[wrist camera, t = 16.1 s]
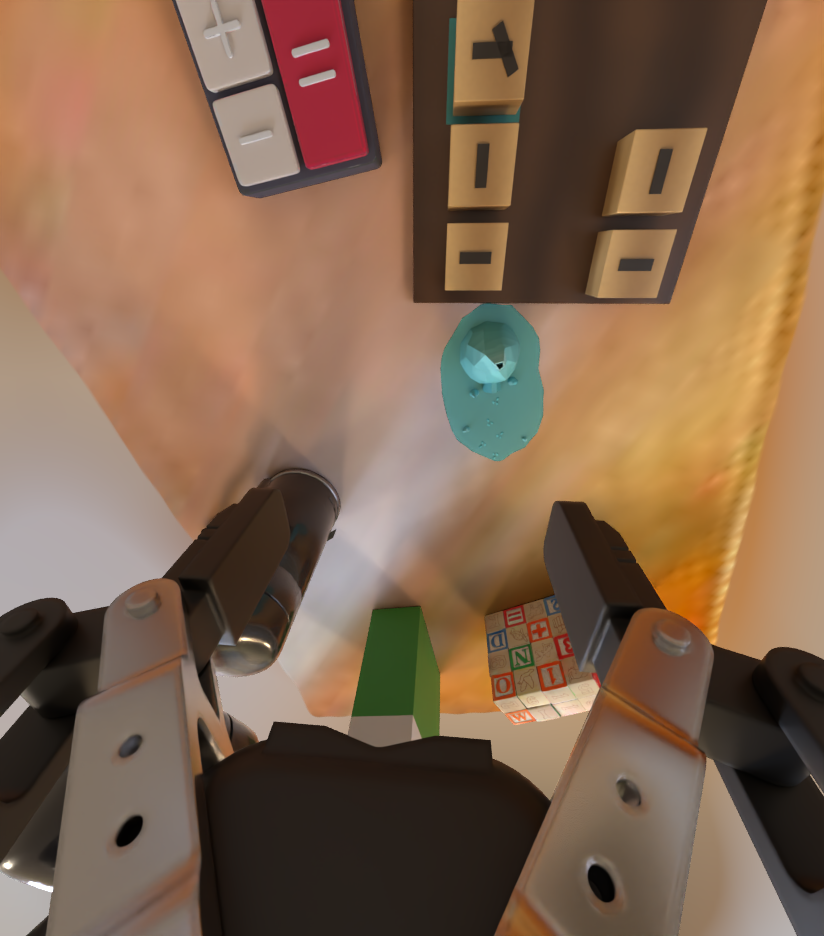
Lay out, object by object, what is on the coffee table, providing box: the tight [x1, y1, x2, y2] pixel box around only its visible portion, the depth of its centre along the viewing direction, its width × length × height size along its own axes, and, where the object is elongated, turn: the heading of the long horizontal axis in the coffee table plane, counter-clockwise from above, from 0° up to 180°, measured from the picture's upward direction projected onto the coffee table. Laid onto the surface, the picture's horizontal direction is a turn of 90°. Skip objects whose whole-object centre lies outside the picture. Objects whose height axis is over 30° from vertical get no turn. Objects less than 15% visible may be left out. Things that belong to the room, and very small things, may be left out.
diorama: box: [441, 303, 544, 461], centre depth 34 cm, size 12×20×9 cm, turn 11°
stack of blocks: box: [485, 595, 601, 725], centre depth 47 cm, size 21×6×12 cm, turn 122°
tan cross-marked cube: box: [453, 0, 535, 116], centre depth 24 cm, size 4×4×3 cm
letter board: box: [413, 0, 767, 304], centre depth 26 cm, size 22×20×4 cm
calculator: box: [172, 0, 382, 198], centre depth 25 cm, size 11×4×15 cm
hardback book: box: [348, 606, 440, 747], centre depth 49 cm, size 18×7×24 cm, turn 12°
